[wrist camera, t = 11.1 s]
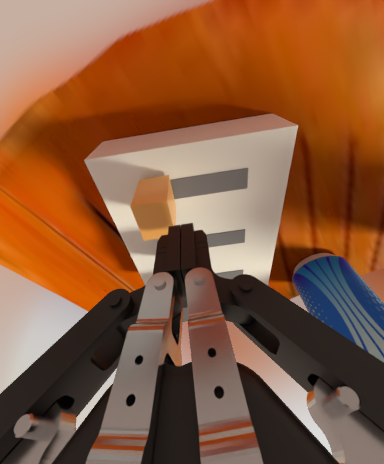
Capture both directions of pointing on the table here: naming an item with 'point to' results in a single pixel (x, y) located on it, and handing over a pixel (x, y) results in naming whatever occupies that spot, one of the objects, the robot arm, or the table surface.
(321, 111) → the table surface
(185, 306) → the block
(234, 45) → the table surface
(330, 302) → the beer can
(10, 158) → the table surface
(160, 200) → the block
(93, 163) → the breaker panel
